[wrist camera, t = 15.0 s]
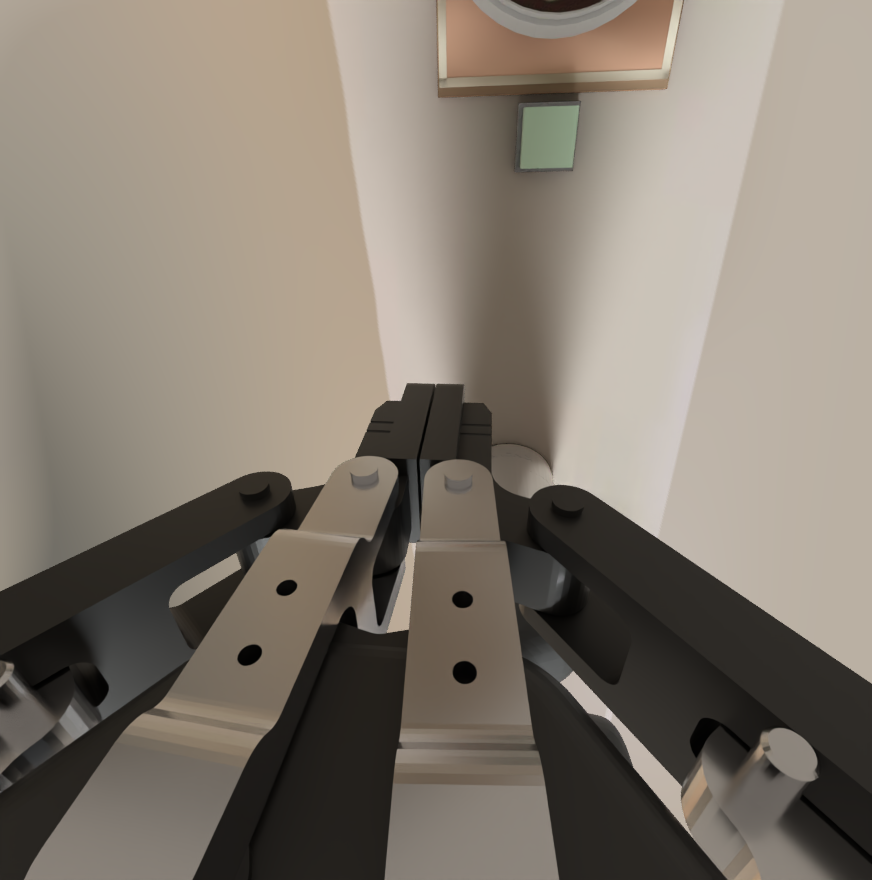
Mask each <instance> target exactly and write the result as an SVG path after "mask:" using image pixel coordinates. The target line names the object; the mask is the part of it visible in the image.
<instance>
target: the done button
mask: <svg viewBox="0 0 872 880" xmlns="http://www.w3.org/2000/svg"><path fill="white" fill-rule="evenodd" d="M578 114H579V105H577V106H548V107H524V108H523V121H522V138H521V154H520V168H521V169H533V168H572V167H573V158H574V149H575V140H576V131H577V123H578Z"/></svg>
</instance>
